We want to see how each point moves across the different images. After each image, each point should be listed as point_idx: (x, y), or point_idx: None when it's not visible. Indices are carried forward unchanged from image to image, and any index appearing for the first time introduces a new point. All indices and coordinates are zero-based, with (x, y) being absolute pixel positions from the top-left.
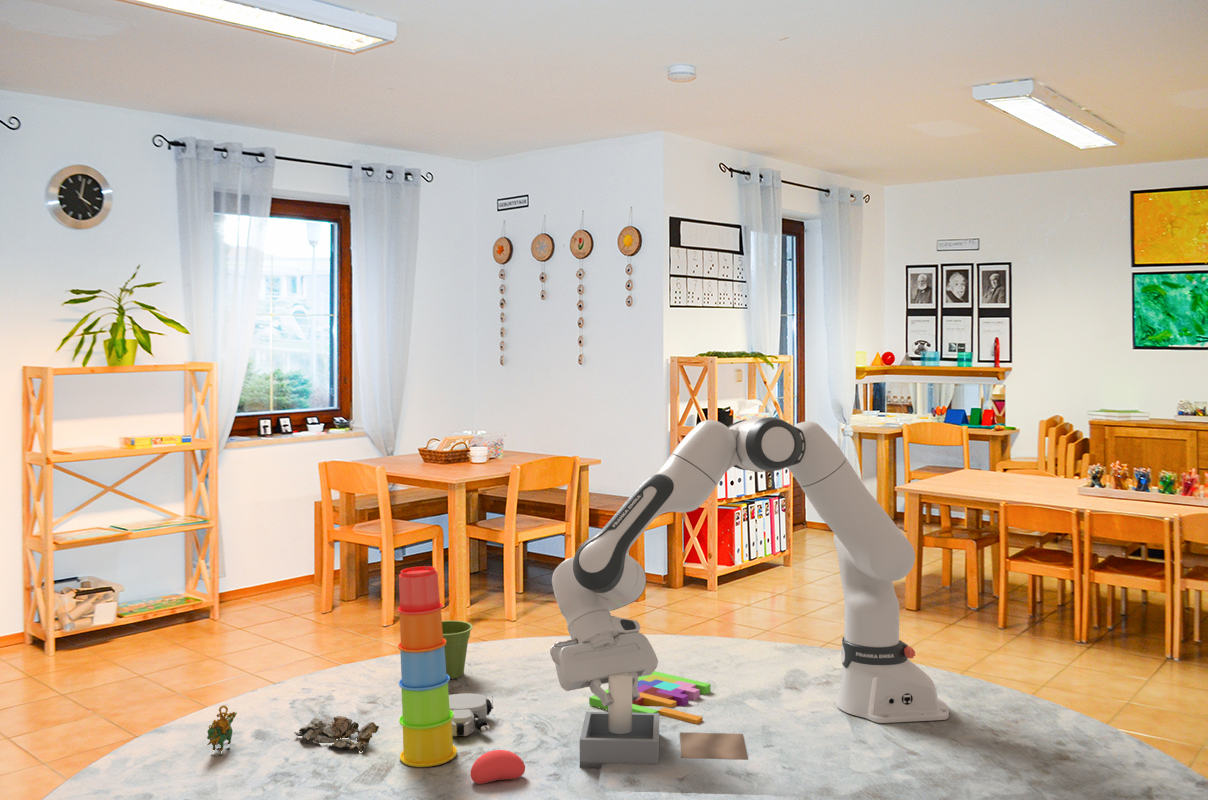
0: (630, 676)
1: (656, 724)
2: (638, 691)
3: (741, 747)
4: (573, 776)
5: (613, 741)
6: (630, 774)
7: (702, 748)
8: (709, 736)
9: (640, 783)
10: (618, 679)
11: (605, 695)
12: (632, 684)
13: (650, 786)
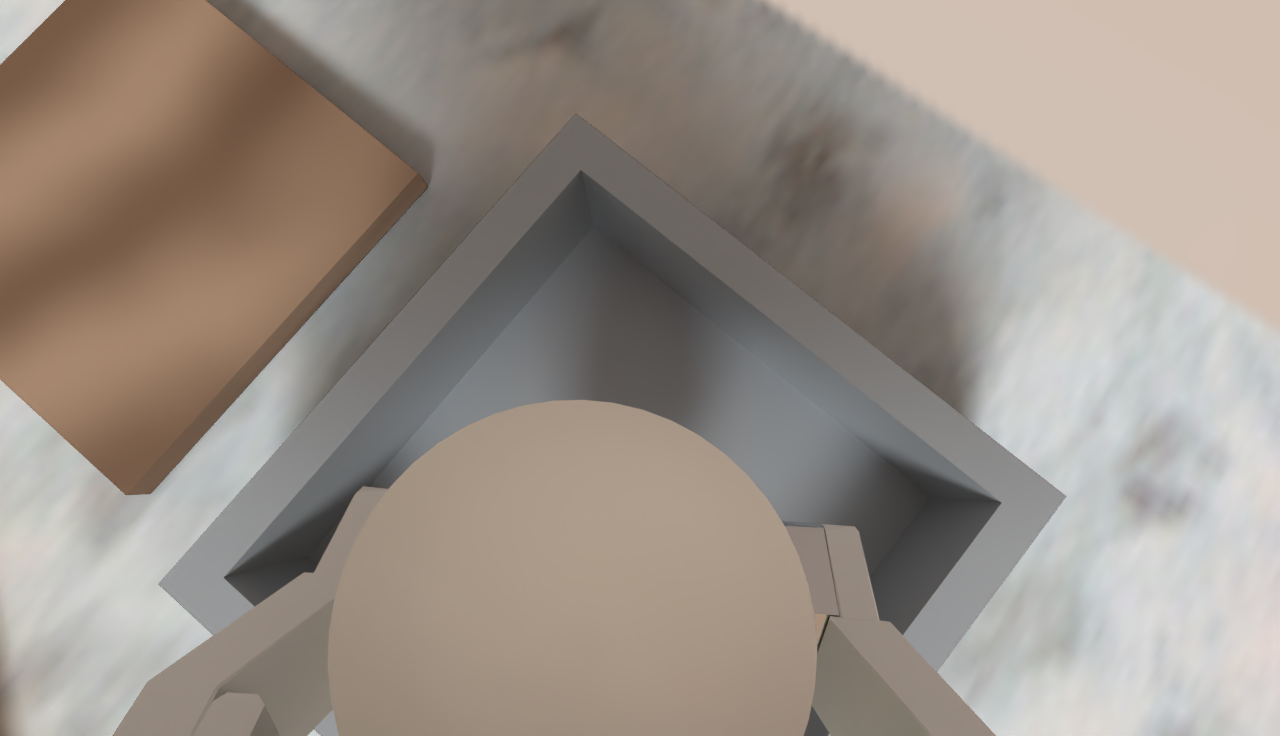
0: (442, 481)
1: (356, 389)
2: (344, 517)
3: (21, 77)
4: (1063, 406)
5: (842, 326)
6: (764, 235)
7: (214, 202)
8: (32, 320)
9: (788, 113)
10: (744, 473)
11: (855, 592)
12: (298, 687)
13: (766, 55)
